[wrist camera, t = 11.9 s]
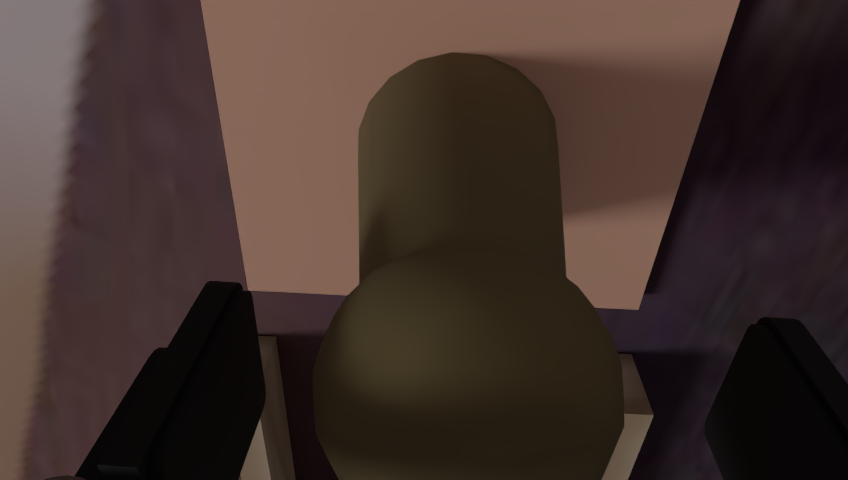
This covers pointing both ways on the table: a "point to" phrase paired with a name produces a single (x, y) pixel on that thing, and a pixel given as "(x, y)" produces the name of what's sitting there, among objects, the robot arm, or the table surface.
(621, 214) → the tile
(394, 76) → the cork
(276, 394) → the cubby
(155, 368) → the robot arm
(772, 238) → the table surface
